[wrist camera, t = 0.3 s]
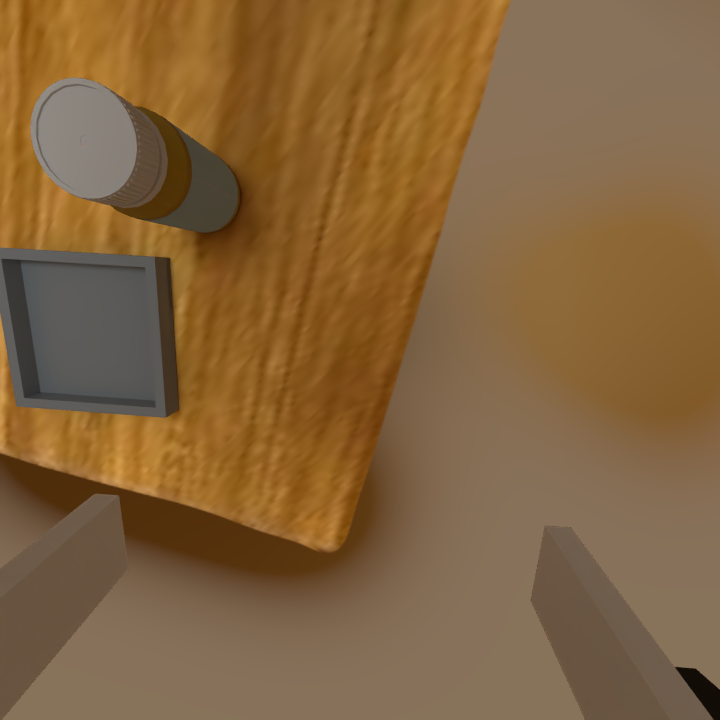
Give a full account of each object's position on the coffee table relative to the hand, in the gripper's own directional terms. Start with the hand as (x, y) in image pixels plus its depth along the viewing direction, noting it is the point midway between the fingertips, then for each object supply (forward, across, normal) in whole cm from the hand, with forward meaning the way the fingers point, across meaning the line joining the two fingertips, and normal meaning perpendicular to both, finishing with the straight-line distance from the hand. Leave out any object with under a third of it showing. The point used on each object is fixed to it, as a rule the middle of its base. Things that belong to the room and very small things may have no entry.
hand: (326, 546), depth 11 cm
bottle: (+28, -16, +14) cm, 35 cm away
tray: (+27, -28, +1) cm, 39 cm away
